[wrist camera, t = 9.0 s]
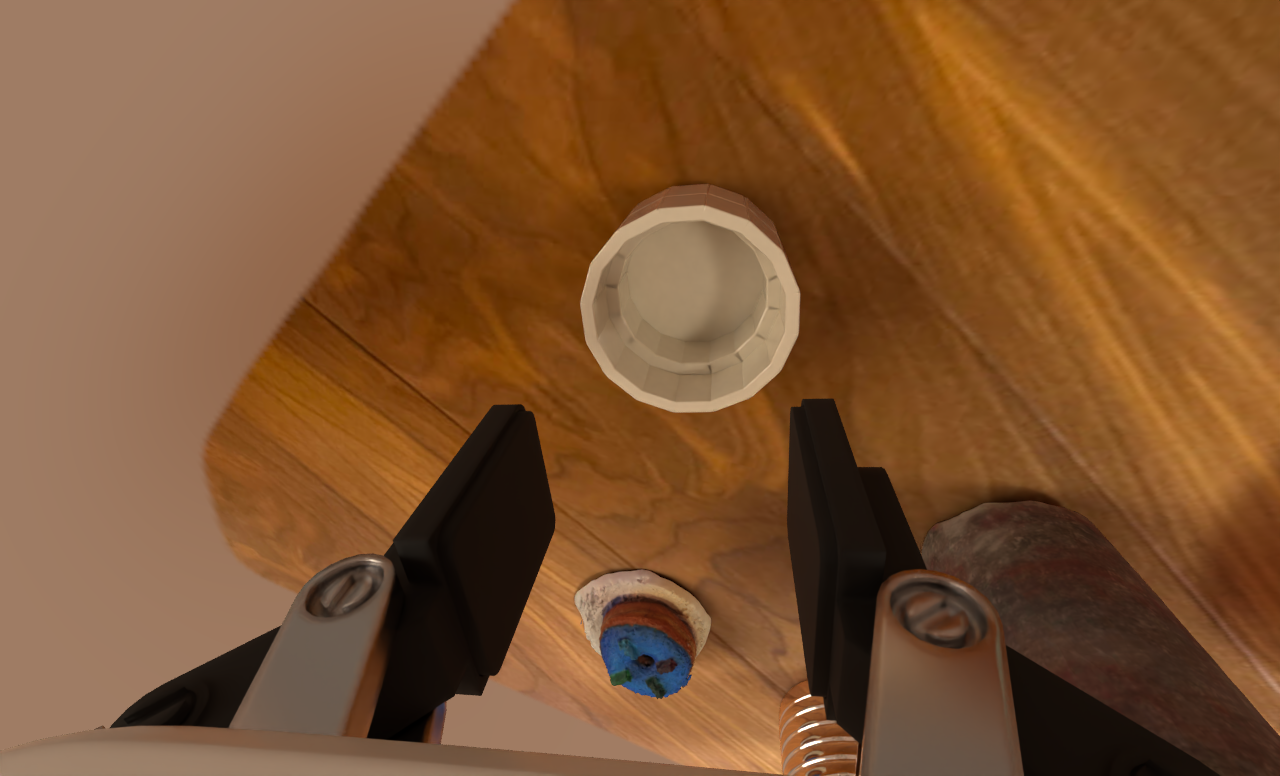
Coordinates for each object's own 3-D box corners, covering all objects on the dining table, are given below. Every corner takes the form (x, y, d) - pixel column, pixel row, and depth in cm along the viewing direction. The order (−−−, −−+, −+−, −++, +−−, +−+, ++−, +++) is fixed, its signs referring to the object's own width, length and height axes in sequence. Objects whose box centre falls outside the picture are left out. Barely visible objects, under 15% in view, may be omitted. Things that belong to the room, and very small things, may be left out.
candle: (1051, 454, 24) (1886, 1387, 7) (1124, 559, 26) (1918, 1494, 9) (889, 532, 27) (1180, 1316, 10) (966, 621, 29) (1321, 1407, 12)
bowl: (598, 190, 22) (566, 215, 17) (787, 174, 21) (803, 197, 16) (619, 357, 25) (596, 414, 21) (783, 352, 24) (796, 411, 19)
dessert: (744, 649, 32) (683, 748, 28) (674, 625, 37) (616, 706, 34) (663, 547, 30) (589, 641, 27) (602, 537, 35) (534, 615, 32)
